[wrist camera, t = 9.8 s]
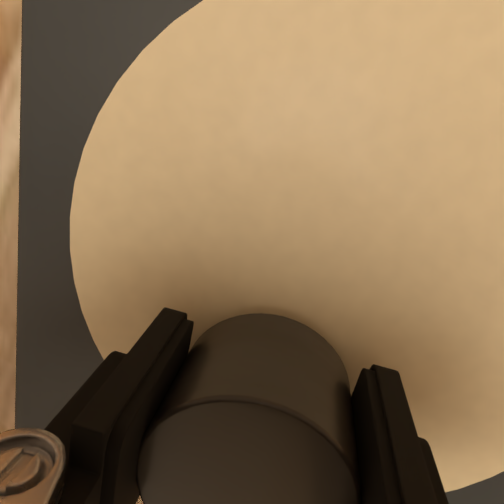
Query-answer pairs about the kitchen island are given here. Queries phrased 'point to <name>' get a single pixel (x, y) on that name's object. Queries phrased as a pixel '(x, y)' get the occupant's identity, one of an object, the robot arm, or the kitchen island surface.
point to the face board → (271, 194)
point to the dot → (254, 421)
